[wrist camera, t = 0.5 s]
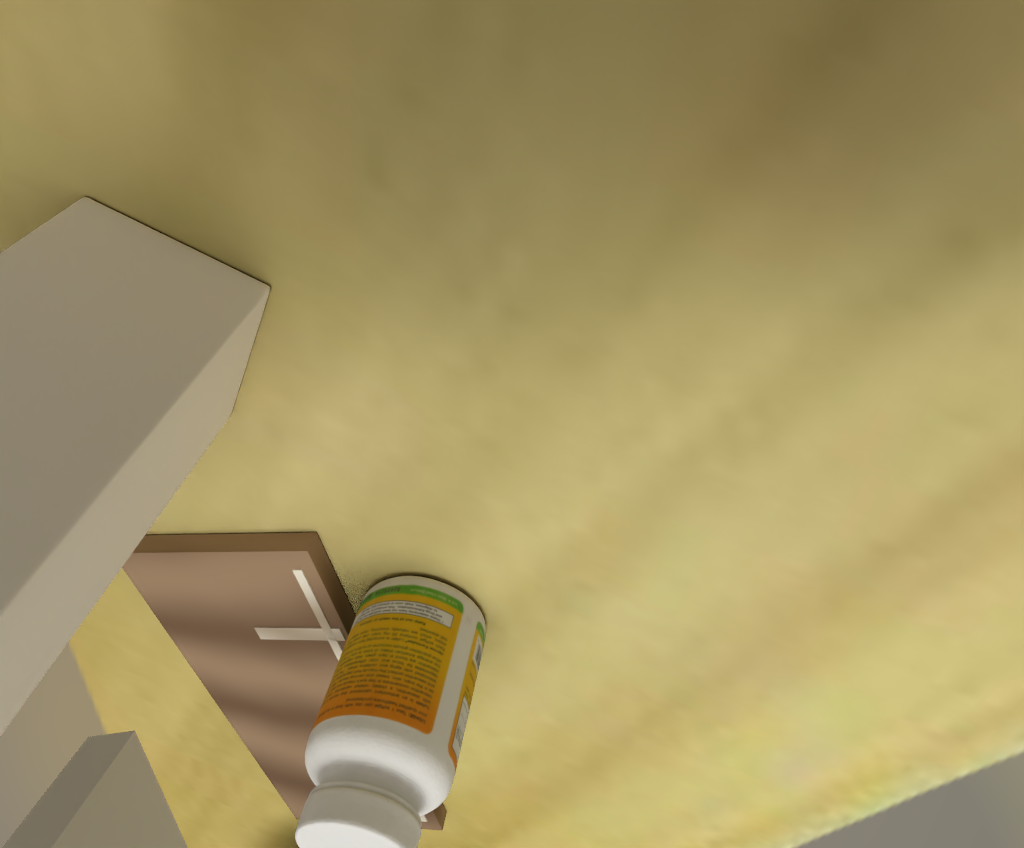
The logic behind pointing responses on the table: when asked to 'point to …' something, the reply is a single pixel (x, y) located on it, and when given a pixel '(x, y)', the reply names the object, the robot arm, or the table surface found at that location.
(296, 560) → the walnut board
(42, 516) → the milk
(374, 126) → the table surface
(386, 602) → the supplement bottle
